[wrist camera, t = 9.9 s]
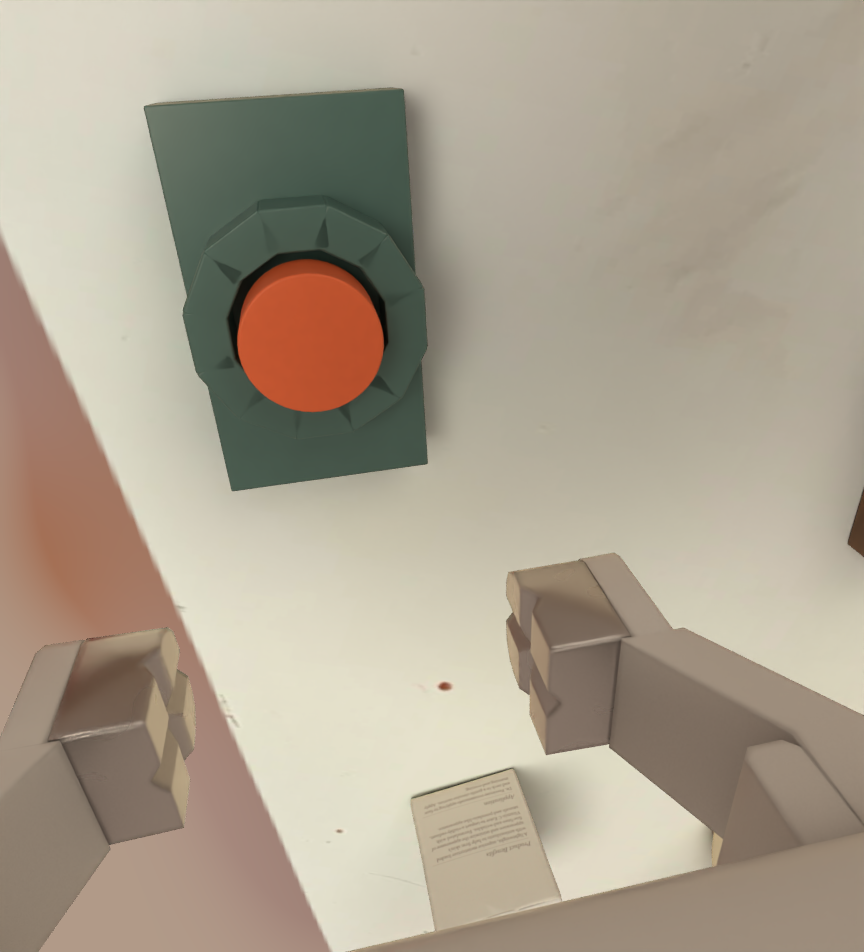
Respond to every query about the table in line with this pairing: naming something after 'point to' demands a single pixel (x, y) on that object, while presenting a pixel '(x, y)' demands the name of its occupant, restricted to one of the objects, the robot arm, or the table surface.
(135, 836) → the robot arm
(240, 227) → the button block
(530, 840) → the product carton
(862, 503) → the dial panel
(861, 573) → the table surface
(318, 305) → the release button
